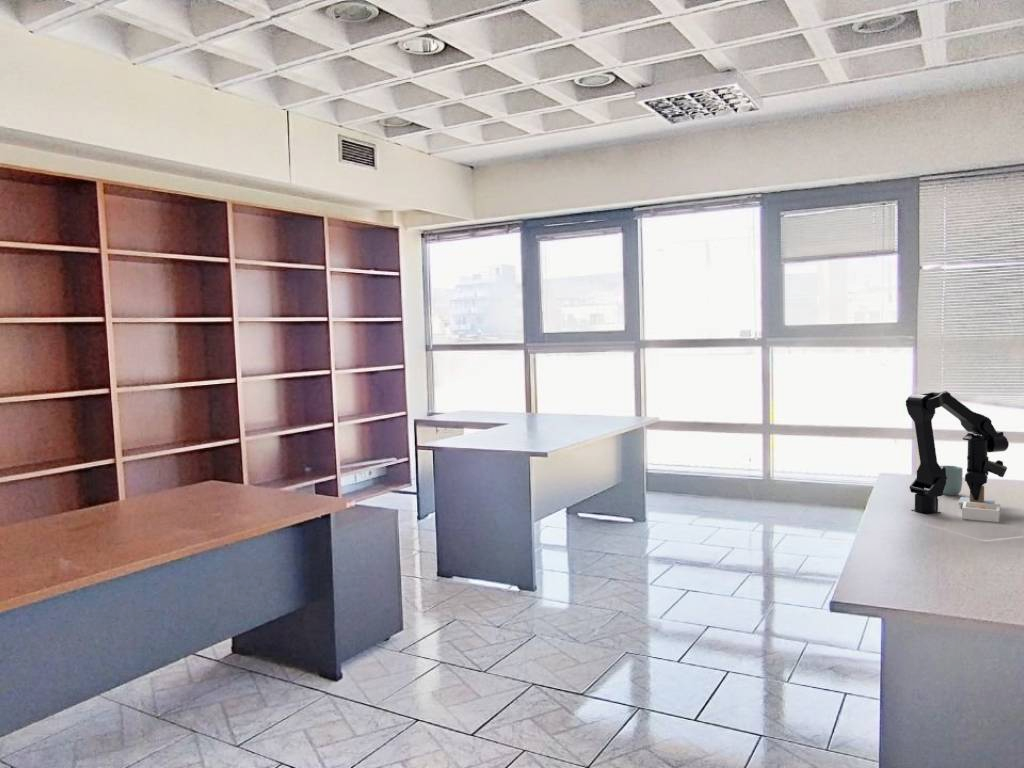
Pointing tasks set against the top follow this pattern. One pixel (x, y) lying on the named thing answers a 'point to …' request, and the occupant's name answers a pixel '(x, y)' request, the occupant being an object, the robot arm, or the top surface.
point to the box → (981, 511)
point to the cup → (953, 480)
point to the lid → (980, 500)
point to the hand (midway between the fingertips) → (976, 499)
